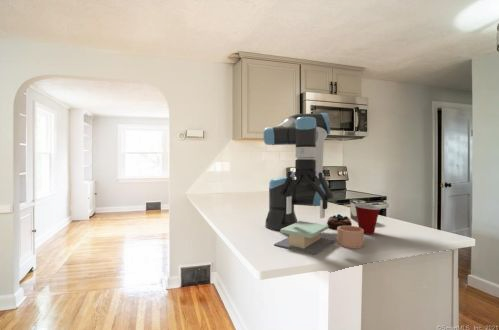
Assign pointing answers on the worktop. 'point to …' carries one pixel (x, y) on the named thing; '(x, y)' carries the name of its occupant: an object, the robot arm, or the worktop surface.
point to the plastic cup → (367, 217)
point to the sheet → (304, 229)
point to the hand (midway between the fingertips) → (305, 215)
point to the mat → (308, 249)
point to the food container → (353, 209)
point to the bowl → (350, 236)
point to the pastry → (338, 221)
